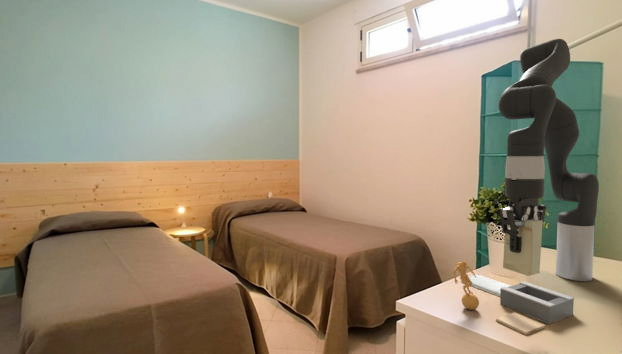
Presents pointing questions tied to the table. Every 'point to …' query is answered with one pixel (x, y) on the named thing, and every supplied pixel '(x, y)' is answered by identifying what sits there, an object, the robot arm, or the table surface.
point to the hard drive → (487, 284)
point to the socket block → (537, 302)
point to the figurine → (469, 298)
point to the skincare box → (525, 249)
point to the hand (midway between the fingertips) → (522, 250)
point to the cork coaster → (520, 323)
